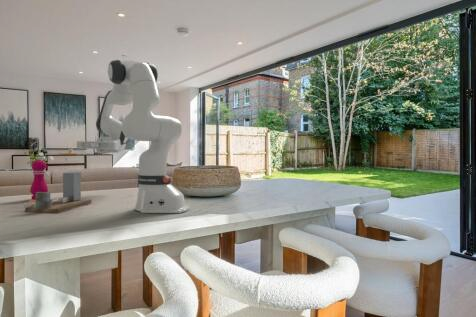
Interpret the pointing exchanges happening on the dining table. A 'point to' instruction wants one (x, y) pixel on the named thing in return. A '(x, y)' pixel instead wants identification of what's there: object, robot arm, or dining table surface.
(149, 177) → the robot arm
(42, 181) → the pepper mill
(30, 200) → the wood and grey stick
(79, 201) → the gauge bench
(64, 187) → the brushed steel block
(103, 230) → the dining table surface
